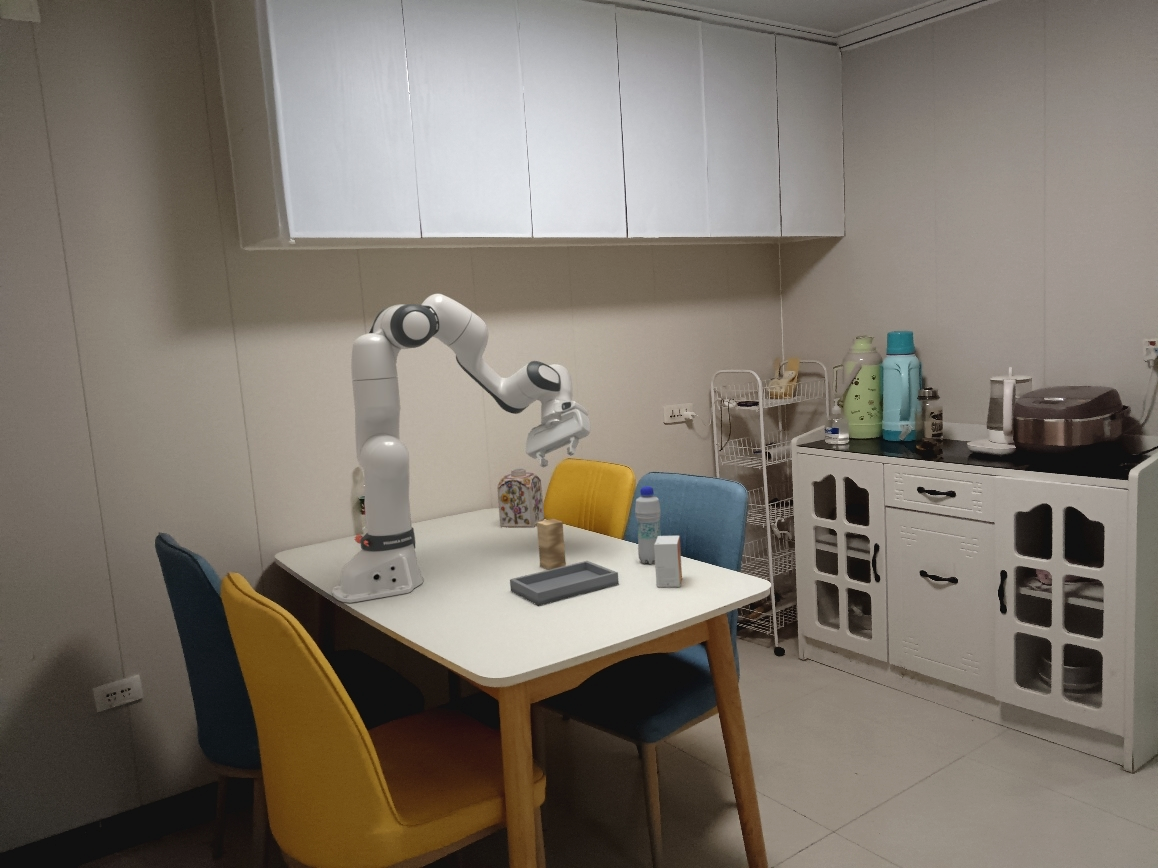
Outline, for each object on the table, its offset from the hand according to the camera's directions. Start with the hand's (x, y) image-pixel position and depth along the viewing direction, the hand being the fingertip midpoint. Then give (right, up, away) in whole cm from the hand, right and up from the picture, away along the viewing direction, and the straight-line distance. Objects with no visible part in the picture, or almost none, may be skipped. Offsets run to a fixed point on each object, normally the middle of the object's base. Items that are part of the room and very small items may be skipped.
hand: (557, 460), depth 217 cm
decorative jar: (-13, -23, +49) cm, 55 cm away
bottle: (+25, -27, -4) cm, 37 cm away
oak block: (-1, -28, -2) cm, 28 cm away
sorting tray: (+2, -30, -21) cm, 37 cm away
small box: (+27, -29, -22) cm, 46 cm away
